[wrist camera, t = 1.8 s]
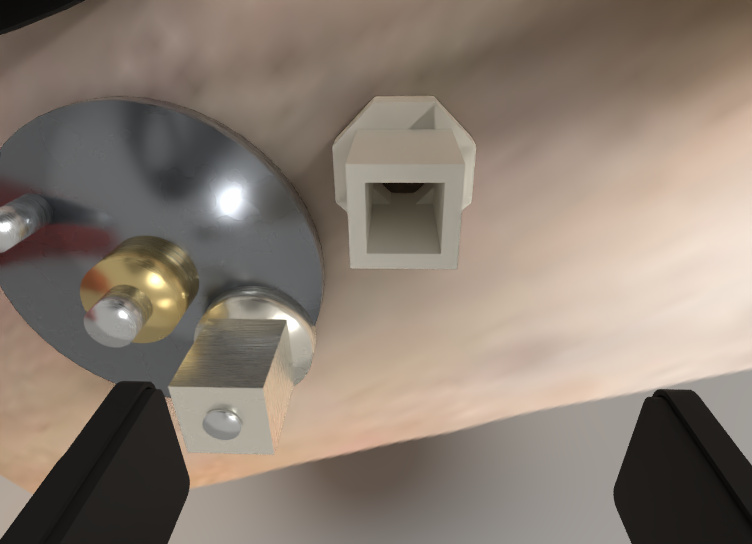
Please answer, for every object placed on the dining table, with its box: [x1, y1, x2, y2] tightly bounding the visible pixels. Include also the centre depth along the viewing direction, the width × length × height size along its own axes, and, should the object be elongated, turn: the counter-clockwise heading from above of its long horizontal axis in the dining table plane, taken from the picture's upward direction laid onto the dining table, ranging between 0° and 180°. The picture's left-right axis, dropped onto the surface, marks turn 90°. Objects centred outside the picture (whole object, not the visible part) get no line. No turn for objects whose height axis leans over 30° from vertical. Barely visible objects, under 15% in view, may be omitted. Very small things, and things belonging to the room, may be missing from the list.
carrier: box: [0, 96, 324, 455], centre depth 25 cm, size 19×19×8 cm
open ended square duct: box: [332, 96, 476, 269], centre depth 22 cm, size 7×7×7 cm
